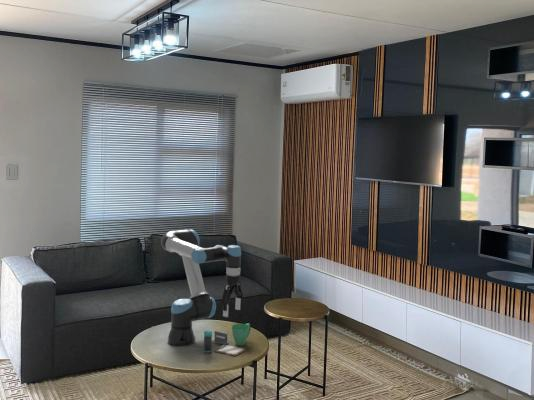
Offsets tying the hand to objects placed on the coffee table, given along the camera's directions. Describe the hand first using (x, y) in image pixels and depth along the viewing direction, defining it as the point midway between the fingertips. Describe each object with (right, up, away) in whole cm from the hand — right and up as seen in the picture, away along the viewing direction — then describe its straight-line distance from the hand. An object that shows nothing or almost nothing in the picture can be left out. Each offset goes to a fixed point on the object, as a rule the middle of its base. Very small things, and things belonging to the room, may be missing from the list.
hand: (231, 313), depth 306 cm
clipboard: (-1, -21, +2) cm, 21 cm away
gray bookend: (-7, -20, +15) cm, 26 cm away
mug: (+5, -20, +16) cm, 26 cm away
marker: (-13, -21, 0) cm, 25 cm away
